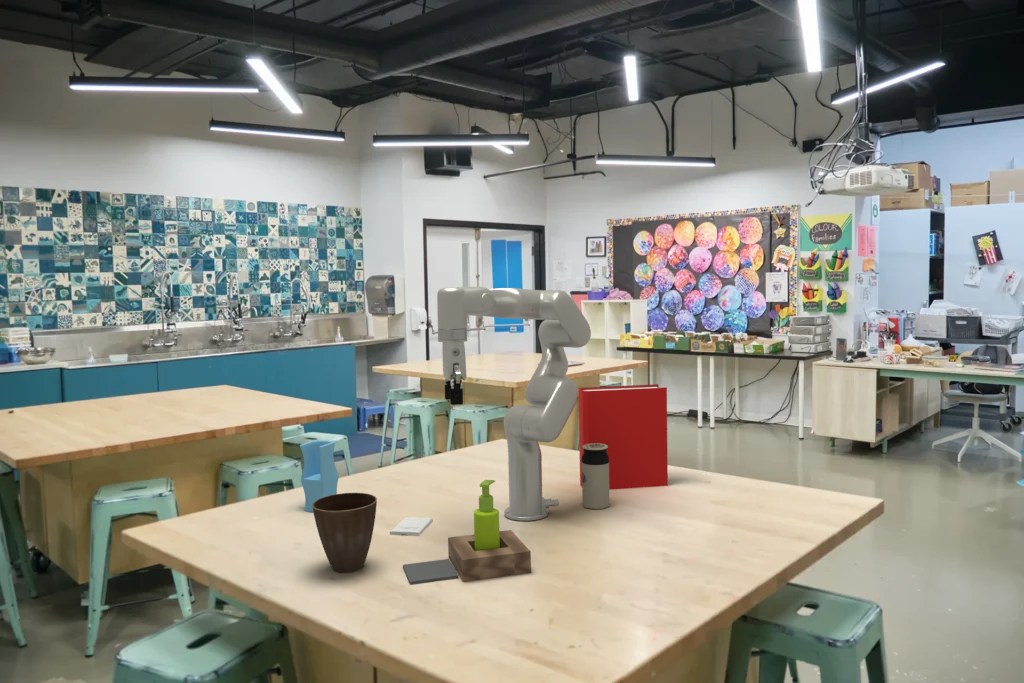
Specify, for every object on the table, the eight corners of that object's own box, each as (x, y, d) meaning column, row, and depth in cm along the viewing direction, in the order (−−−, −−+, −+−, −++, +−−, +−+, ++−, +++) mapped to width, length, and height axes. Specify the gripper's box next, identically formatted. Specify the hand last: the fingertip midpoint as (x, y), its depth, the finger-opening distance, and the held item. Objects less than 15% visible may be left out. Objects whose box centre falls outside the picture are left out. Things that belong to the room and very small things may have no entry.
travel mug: (609, 501, 228) (608, 442, 227) (610, 509, 220) (609, 448, 219) (582, 501, 229) (581, 443, 228) (582, 509, 221) (581, 448, 220)
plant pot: (348, 584, 170) (345, 514, 169) (301, 572, 178) (298, 505, 177) (392, 562, 183) (389, 497, 181) (347, 552, 190) (344, 489, 189)
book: (659, 479, 253) (658, 384, 250) (667, 485, 245) (666, 387, 242) (579, 484, 249) (577, 387, 246) (585, 491, 241) (583, 391, 238)
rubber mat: (448, 561, 182) (448, 558, 182) (458, 577, 172) (458, 575, 172) (402, 567, 179) (402, 564, 179) (410, 584, 169) (409, 581, 169)
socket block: (511, 549, 189) (511, 530, 189) (531, 572, 174) (530, 551, 174) (448, 557, 185) (447, 537, 185) (462, 581, 170) (462, 559, 169)
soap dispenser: (505, 560, 182) (503, 478, 180) (495, 571, 175) (492, 486, 174) (482, 558, 184) (480, 477, 182) (471, 568, 177) (469, 484, 176)
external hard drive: (432, 523, 214) (418, 537, 202) (405, 522, 215) (389, 536, 203) (432, 517, 214) (418, 531, 202) (404, 516, 215) (389, 530, 203)
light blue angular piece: (302, 511, 227) (299, 445, 225) (318, 503, 234) (315, 439, 233) (324, 513, 224) (321, 446, 222) (339, 506, 231) (337, 441, 230)
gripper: (472, 337, 188) (473, 406, 189) (461, 333, 204) (462, 396, 206) (442, 338, 186) (443, 407, 187) (433, 334, 203) (435, 398, 204)
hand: (453, 401), depth 196 cm, fingers open, 9 cm apart
